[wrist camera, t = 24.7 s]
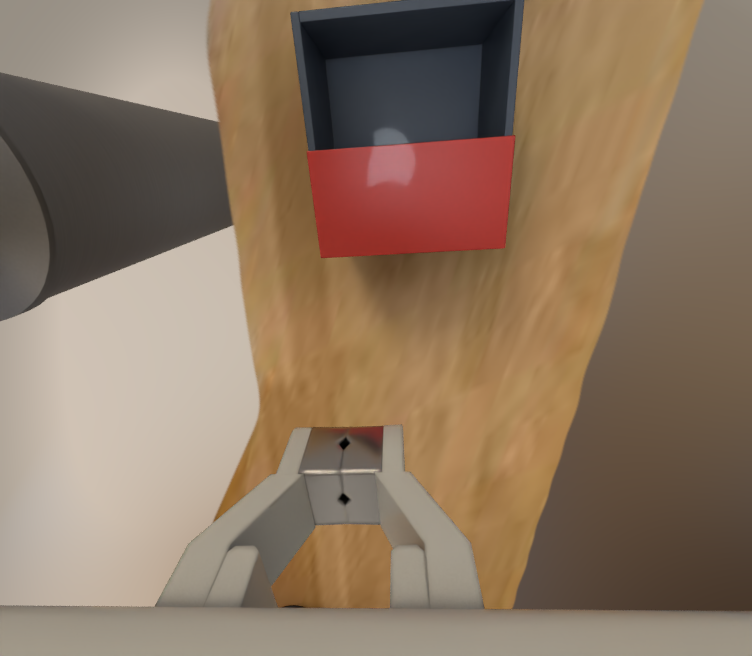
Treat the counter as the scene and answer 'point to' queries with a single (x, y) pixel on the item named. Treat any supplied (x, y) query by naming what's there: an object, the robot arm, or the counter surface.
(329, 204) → the lid
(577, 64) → the counter surface
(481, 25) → the carton
